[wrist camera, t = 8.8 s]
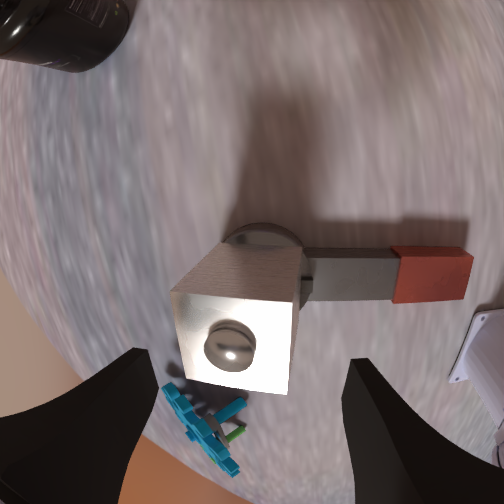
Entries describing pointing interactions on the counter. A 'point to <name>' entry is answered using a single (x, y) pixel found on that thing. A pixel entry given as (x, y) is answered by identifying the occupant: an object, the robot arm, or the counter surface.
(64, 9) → the supplement bottle
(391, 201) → the counter surface
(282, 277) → the socket
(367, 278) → the ratchet
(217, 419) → the gear
